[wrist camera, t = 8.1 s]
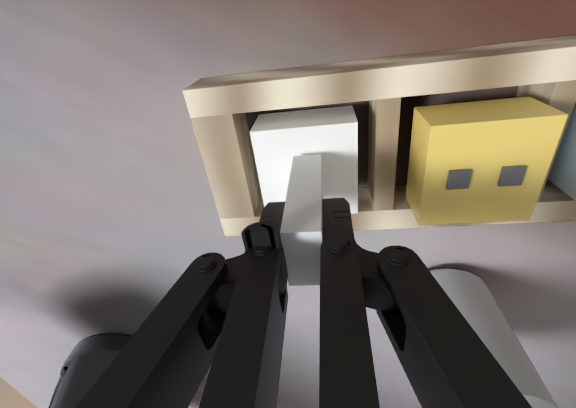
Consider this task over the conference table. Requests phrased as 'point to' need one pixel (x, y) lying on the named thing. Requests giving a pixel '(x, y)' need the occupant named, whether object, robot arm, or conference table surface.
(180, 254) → the conference table surface
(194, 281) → the robot arm
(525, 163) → the tile
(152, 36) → the conference table surface
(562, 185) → the tile
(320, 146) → the tile
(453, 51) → the frame
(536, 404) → the can
